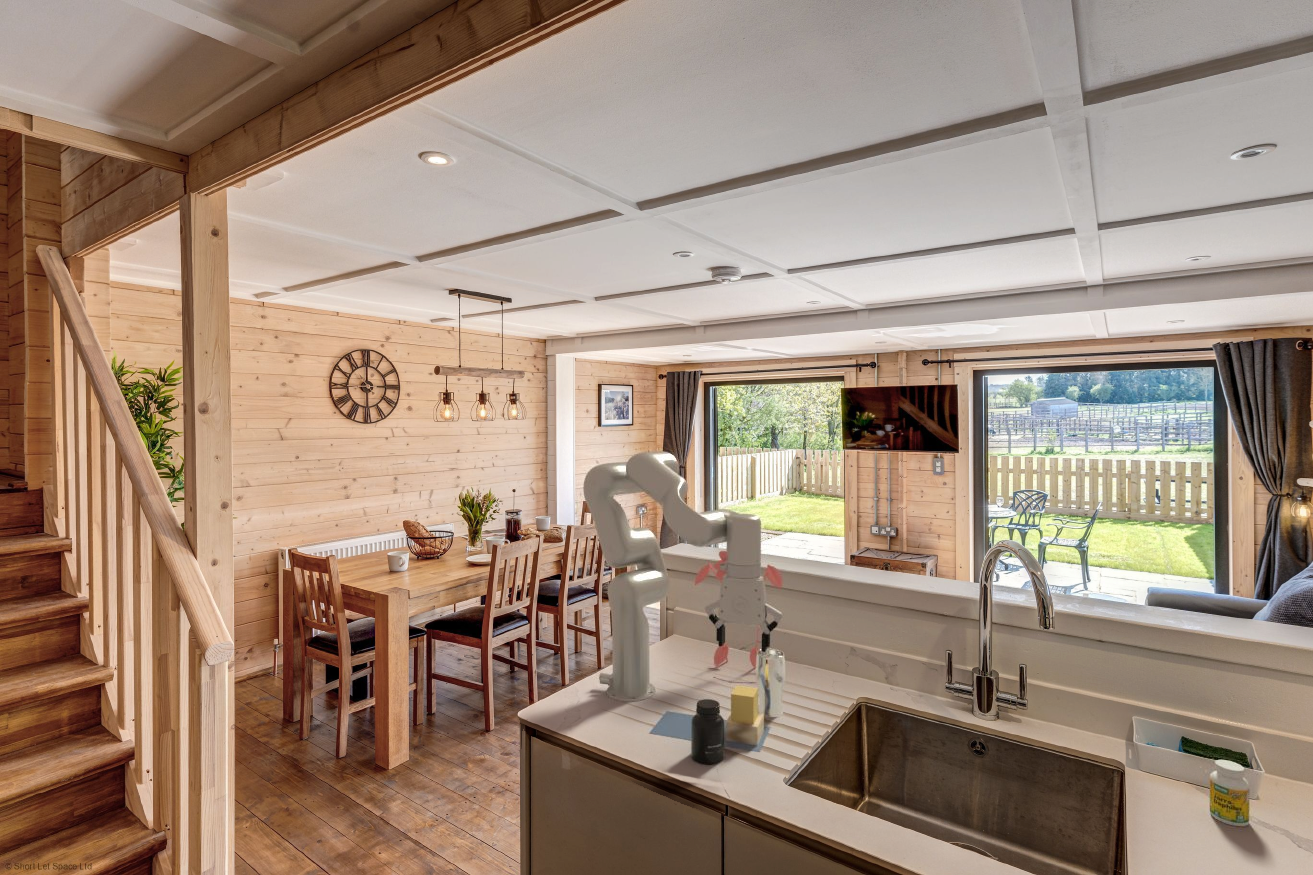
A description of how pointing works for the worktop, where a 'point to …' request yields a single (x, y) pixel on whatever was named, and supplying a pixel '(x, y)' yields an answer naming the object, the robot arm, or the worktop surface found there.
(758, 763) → the worktop surface
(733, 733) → the beech base block
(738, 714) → the mustard block
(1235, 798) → the supplement bottle
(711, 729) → the supplement bottle
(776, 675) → the beer glass
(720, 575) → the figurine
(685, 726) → the board
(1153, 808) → the worktop surface
